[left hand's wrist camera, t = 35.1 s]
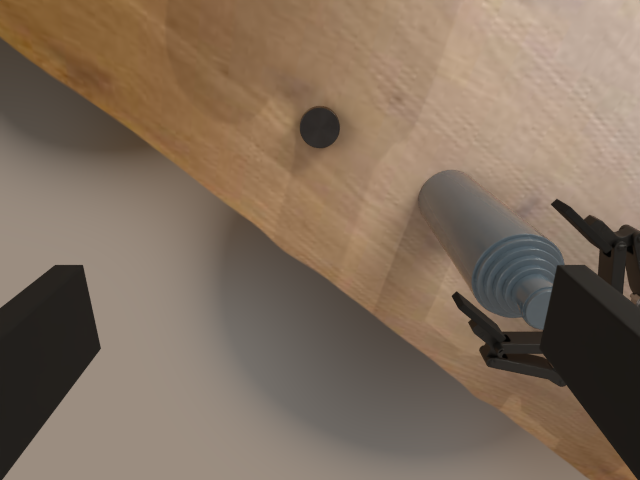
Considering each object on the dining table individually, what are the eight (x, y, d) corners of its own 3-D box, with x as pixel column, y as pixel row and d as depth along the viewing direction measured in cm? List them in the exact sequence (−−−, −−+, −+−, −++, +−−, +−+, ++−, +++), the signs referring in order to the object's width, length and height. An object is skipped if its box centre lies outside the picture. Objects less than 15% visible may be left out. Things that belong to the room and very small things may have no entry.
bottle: (424, 233, 52) (502, 365, 30) (413, 179, 49) (488, 278, 27) (482, 218, 51) (606, 341, 29) (473, 162, 49) (600, 250, 27)
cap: (336, 103, 46) (337, 105, 45) (340, 142, 48) (341, 145, 46) (297, 108, 47) (297, 110, 45) (303, 147, 48) (302, 150, 47)
